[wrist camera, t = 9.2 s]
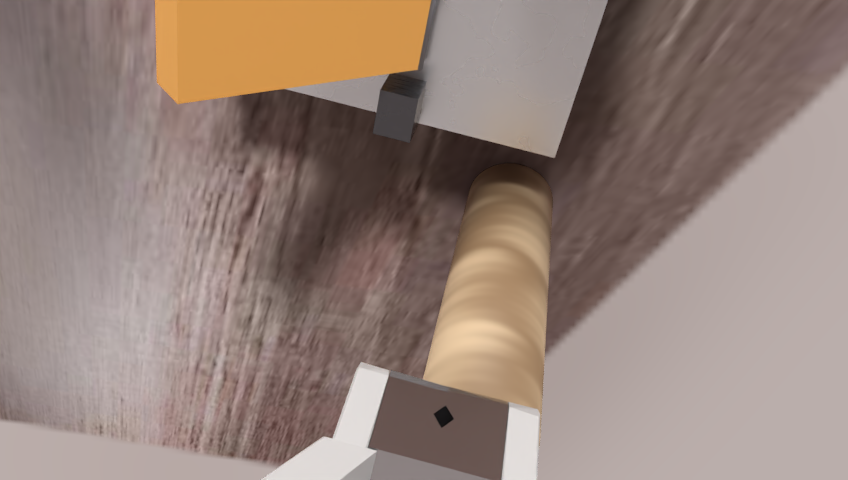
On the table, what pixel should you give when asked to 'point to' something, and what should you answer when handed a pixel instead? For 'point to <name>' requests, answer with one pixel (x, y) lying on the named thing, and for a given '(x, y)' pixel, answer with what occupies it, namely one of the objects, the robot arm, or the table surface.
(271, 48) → the lever
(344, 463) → the robot arm
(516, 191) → the oak post
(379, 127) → the breaker box
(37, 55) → the table surface
